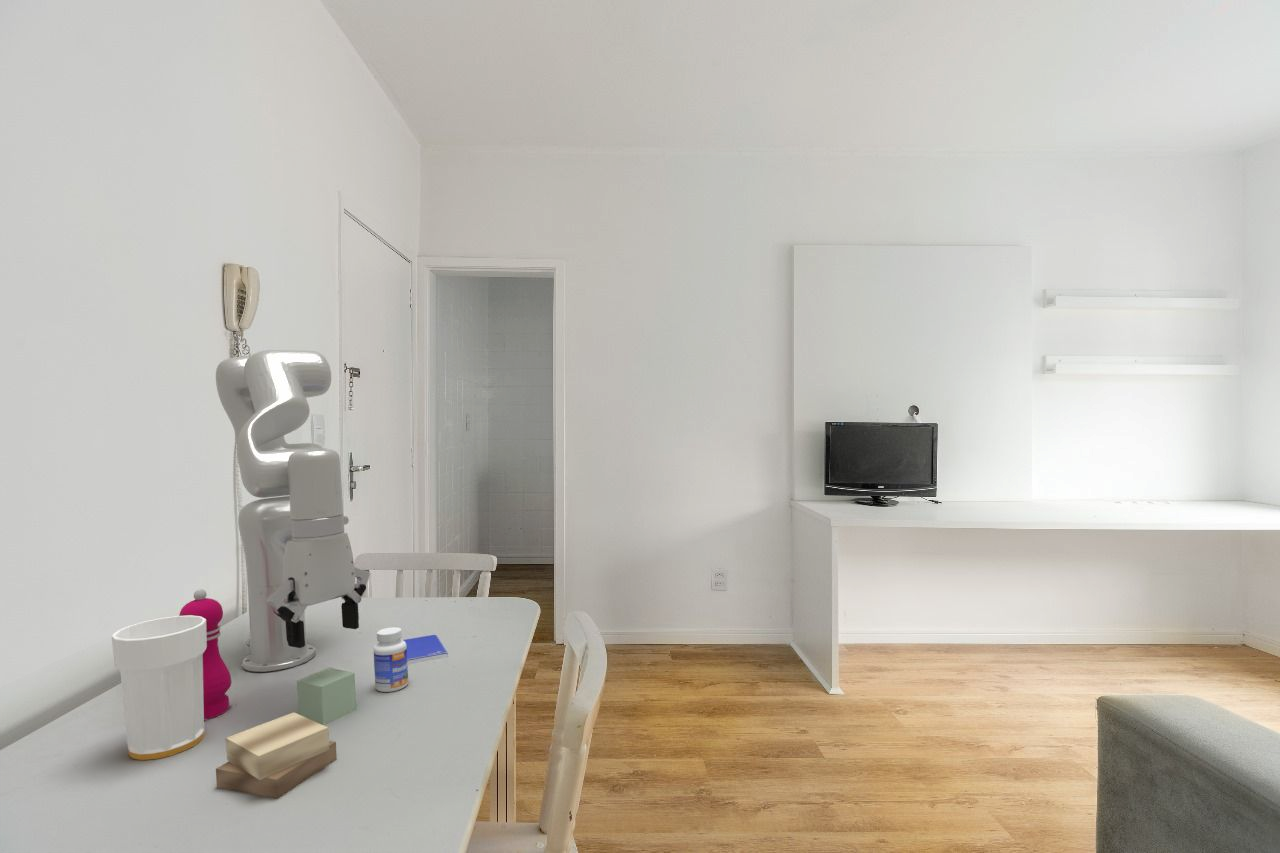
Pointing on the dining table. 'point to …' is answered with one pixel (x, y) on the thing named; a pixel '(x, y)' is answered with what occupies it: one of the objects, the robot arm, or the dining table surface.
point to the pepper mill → (211, 655)
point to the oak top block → (277, 745)
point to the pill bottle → (390, 660)
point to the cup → (162, 684)
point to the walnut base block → (273, 776)
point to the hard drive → (424, 649)
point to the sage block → (326, 695)
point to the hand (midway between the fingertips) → (324, 636)
